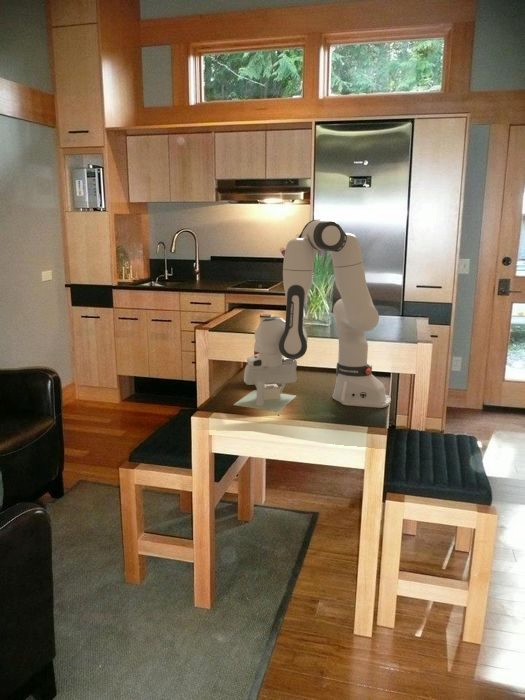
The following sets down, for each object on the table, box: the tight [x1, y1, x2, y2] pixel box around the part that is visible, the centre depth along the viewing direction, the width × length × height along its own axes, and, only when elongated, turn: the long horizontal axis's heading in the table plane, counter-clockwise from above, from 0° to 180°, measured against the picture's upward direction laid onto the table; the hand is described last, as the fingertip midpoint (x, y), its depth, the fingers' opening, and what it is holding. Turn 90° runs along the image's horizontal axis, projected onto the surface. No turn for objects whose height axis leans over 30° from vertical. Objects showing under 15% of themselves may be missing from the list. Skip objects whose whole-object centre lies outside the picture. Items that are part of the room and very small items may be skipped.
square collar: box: [264, 383, 280, 400], centre depth 212 cm, size 6×6×4 cm
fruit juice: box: [253, 313, 272, 356], centre depth 242 cm, size 9×9×28 cm
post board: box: [233, 380, 297, 417], centre depth 208 cm, size 18×20×10 cm
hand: (270, 394), depth 213 cm, fingers closed on square collar, 6 cm apart
